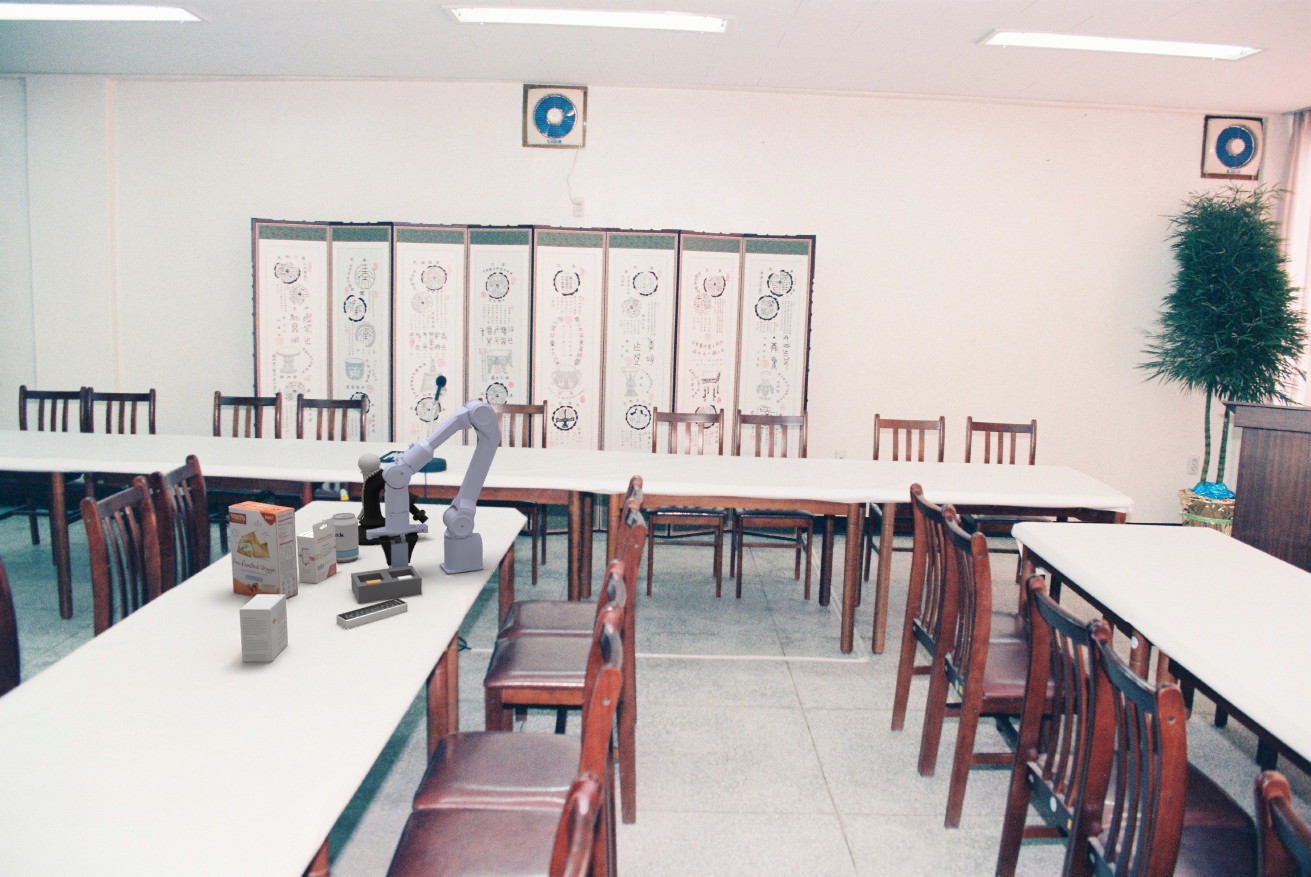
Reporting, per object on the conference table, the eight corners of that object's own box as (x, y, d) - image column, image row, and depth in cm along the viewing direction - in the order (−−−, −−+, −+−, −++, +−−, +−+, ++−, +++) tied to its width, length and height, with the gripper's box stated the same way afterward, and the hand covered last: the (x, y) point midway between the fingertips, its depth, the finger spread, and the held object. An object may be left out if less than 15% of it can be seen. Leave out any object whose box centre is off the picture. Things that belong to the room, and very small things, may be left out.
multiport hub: (335, 625, 163) (335, 614, 162) (397, 607, 174) (397, 597, 173) (346, 631, 160) (345, 620, 160) (408, 612, 171) (408, 602, 170)
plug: (405, 569, 196) (404, 535, 195) (408, 573, 193) (407, 539, 191) (388, 571, 194) (387, 536, 193) (392, 576, 191) (391, 541, 189)
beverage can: (324, 561, 202) (323, 516, 200) (344, 554, 208) (343, 511, 206) (345, 565, 199) (343, 520, 198) (364, 557, 206) (363, 514, 204)
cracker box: (231, 593, 177) (226, 505, 174) (253, 585, 183) (249, 499, 180) (278, 603, 173) (274, 512, 169) (299, 594, 178) (295, 506, 175)
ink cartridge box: (319, 571, 194) (317, 514, 192) (337, 573, 193) (335, 516, 191) (297, 582, 186) (295, 523, 184) (316, 584, 185) (313, 525, 183)
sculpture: (358, 529, 232) (356, 448, 228) (436, 533, 231) (435, 451, 227) (336, 544, 216) (333, 457, 213) (419, 548, 216) (418, 460, 212)
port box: (411, 581, 189) (411, 564, 189) (421, 594, 181) (421, 576, 180) (351, 589, 182) (351, 572, 182) (358, 603, 174) (358, 585, 173)
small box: (259, 644, 151) (256, 593, 150) (288, 644, 152) (286, 593, 150) (241, 662, 144) (238, 609, 142) (272, 662, 144) (269, 609, 142)
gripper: (423, 504, 198) (423, 554, 200) (363, 509, 191) (365, 562, 193) (429, 510, 192) (430, 562, 194) (368, 516, 185) (370, 570, 187)
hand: (398, 563), depth 193 cm, fingers closed on plug, 4 cm apart
